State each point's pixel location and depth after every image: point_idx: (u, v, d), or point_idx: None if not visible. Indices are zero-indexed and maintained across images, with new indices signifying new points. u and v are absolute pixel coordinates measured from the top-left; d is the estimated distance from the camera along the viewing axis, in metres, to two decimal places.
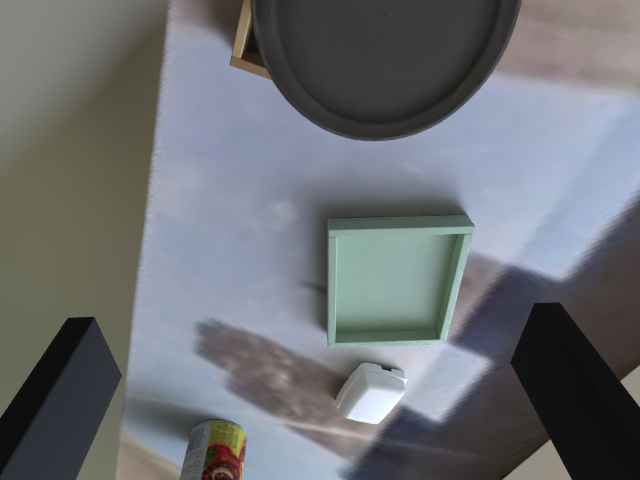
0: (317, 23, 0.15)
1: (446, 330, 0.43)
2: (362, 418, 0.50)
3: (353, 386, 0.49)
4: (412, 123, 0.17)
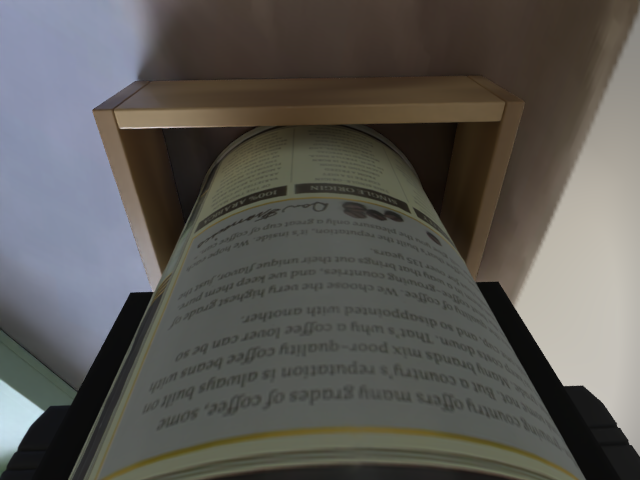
0: None
1: None
2: None
3: None
4: None
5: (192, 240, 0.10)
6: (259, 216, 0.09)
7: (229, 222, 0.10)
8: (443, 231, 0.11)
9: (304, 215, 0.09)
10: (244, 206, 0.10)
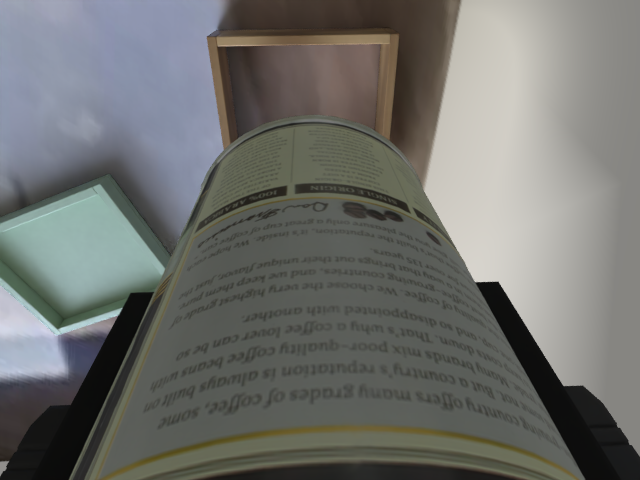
0: None
1: (71, 328, 0.42)
2: None
3: None
4: None
5: (192, 240, 0.10)
6: (259, 217, 0.09)
7: (230, 221, 0.10)
8: (443, 231, 0.11)
9: (304, 215, 0.09)
10: (245, 207, 0.10)
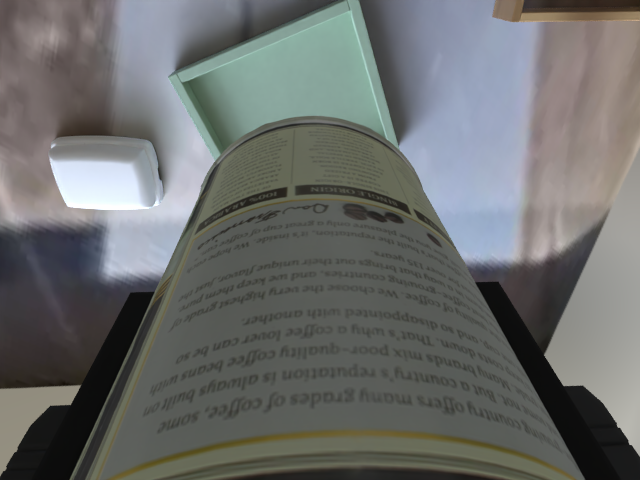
0: None
1: None
2: (67, 182, 0.35)
3: (109, 146, 0.34)
4: None
5: (192, 241, 0.10)
6: (260, 218, 0.09)
7: (229, 223, 0.10)
8: (443, 232, 0.11)
9: (304, 217, 0.09)
10: (245, 208, 0.10)
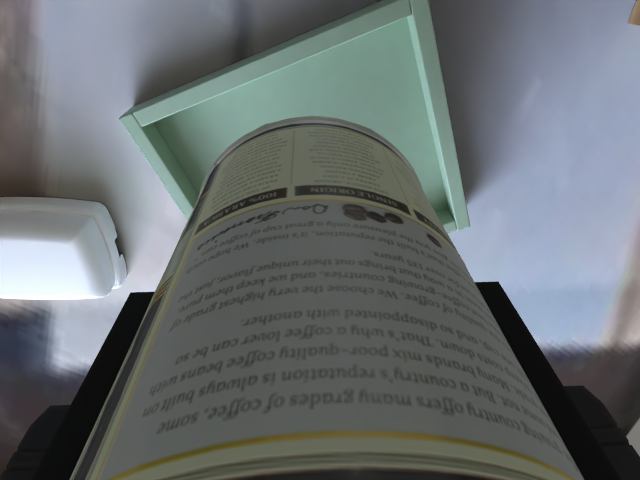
0: None
1: None
2: None
3: (39, 214, 0.23)
4: None
5: (192, 242, 0.10)
6: (259, 219, 0.09)
7: (229, 224, 0.10)
8: (443, 233, 0.11)
9: (304, 217, 0.09)
10: (244, 208, 0.10)
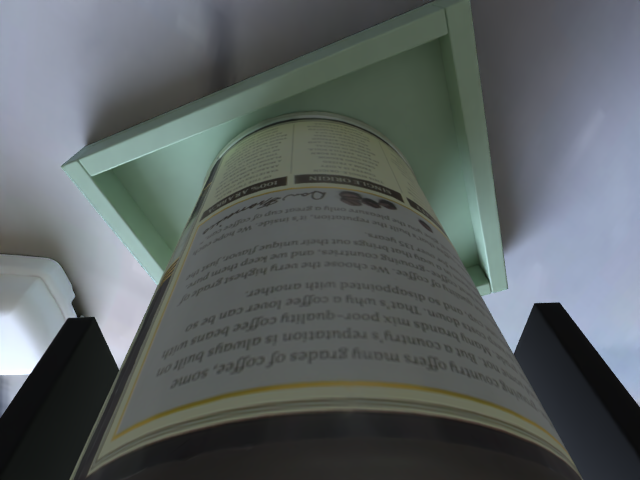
0: None
1: None
2: None
3: None
4: None
5: (197, 228, 0.11)
6: (261, 204, 0.10)
7: (233, 210, 0.10)
8: (435, 220, 0.12)
9: (303, 203, 0.10)
10: (247, 196, 0.11)
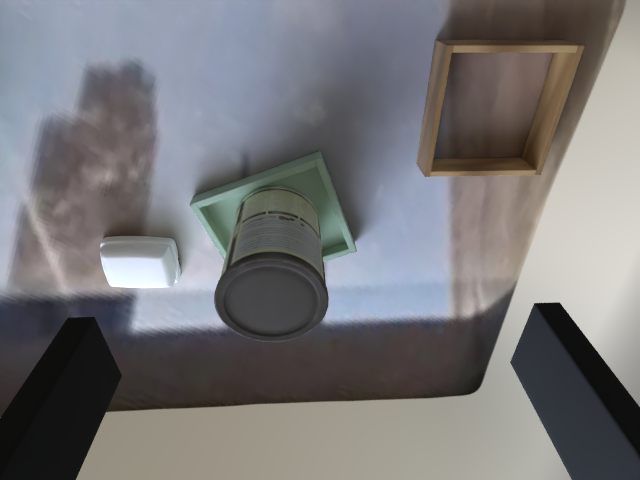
0: (255, 283, 0.35)
1: None
2: (112, 271, 0.47)
3: (143, 245, 0.47)
4: (235, 327, 0.37)
5: (241, 225, 0.40)
6: (259, 219, 0.39)
7: (251, 220, 0.39)
8: (309, 223, 0.41)
9: (269, 219, 0.39)
10: (255, 217, 0.40)
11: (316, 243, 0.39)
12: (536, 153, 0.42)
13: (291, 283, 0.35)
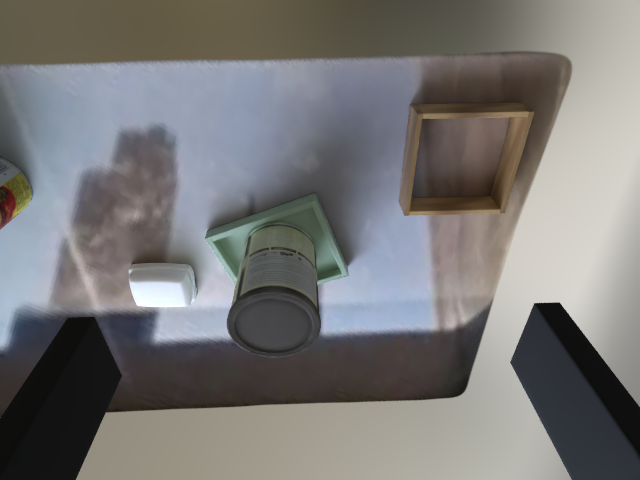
0: (260, 311, 0.42)
1: None
2: (139, 293, 0.55)
3: (165, 271, 0.55)
4: (244, 345, 0.45)
5: (248, 259, 0.47)
6: (263, 255, 0.46)
7: (257, 255, 0.47)
8: (306, 256, 0.48)
9: (272, 255, 0.46)
10: (260, 252, 0.47)
11: (311, 274, 0.47)
12: (500, 195, 0.49)
13: (289, 311, 0.42)
